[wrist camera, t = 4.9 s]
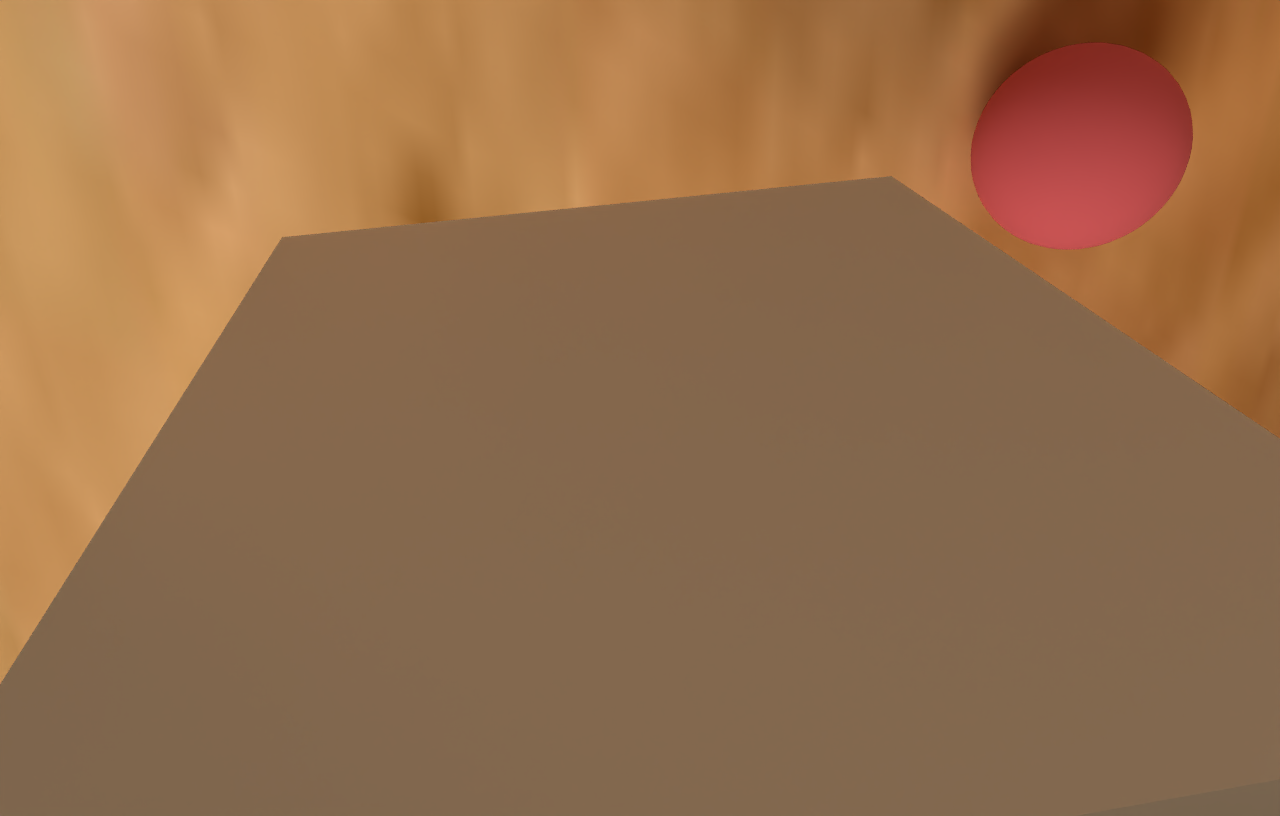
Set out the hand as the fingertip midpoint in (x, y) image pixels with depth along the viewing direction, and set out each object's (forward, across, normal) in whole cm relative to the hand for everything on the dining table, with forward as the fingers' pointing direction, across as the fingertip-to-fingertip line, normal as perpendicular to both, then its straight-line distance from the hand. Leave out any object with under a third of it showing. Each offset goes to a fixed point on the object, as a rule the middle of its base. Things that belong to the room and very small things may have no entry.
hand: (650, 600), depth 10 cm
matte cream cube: (+3, 0, 0) cm, 3 cm away
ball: (+13, -13, -1) cm, 18 cm away
